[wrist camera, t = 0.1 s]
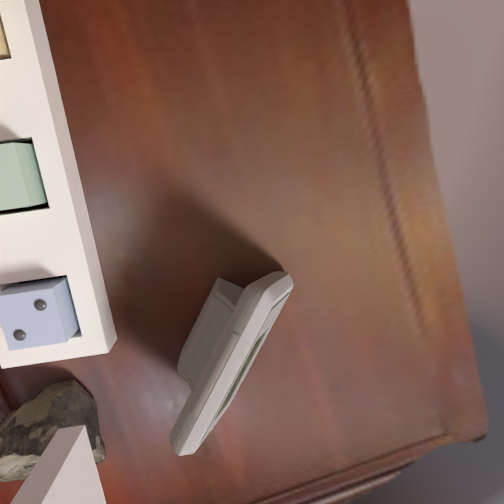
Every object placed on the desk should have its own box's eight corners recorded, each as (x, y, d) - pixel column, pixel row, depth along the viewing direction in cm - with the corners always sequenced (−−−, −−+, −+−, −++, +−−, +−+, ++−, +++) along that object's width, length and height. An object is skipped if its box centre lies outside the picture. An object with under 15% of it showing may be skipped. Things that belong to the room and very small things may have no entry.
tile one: (-23, 152, 34) (-53, 151, 31) (35, 144, 34) (12, 142, 31) (-6, 209, 35) (-33, 215, 32) (50, 201, 36) (29, 206, 32)
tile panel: (-94, -25, 32) (-126, -44, 30) (29, -41, 33) (9, -61, 30) (18, 353, 40) (1, 368, 37) (117, 338, 40) (108, 352, 37)
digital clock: (220, 407, 43) (217, 485, 32) (150, 361, 41) (124, 429, 31) (316, 292, 41) (346, 337, 30) (246, 239, 39) (252, 268, 29)
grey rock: (54, 492, 43) (-31, 542, 34) (23, 415, 46) (-64, 440, 36) (132, 442, 42) (67, 478, 33) (97, 365, 45) (27, 377, 35)
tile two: (15, 284, 37) (-8, 297, 33) (68, 276, 37) (51, 288, 34) (29, 333, 38) (8, 351, 35) (81, 325, 38) (66, 342, 35)
